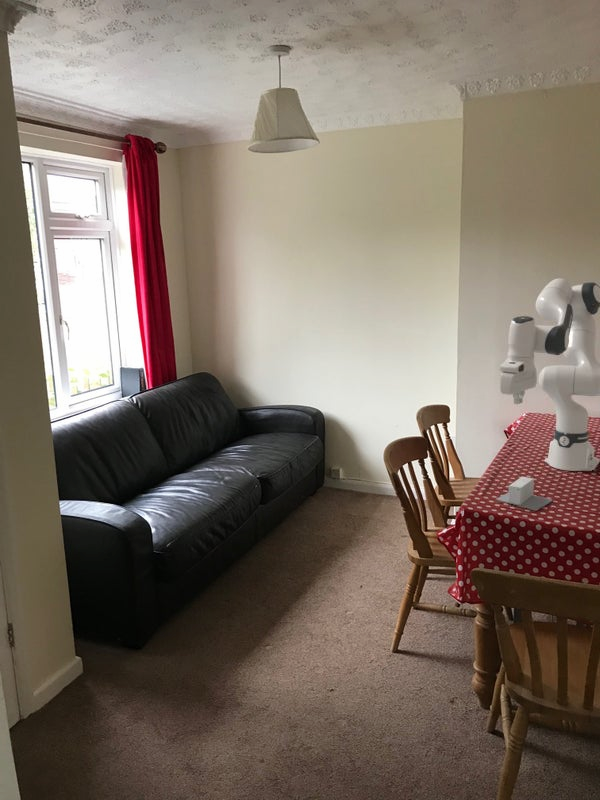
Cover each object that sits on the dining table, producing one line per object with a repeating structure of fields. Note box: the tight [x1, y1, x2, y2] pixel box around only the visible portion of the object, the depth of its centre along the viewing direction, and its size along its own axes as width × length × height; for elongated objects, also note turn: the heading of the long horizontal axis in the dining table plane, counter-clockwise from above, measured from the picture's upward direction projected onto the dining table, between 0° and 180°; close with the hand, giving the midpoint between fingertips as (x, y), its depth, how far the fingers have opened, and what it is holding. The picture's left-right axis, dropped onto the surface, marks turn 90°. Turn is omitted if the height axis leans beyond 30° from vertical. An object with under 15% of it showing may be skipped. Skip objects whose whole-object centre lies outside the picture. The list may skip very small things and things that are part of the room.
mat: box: [495, 491, 553, 512], centre depth 221 cm, size 12×14×1 cm
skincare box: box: [508, 476, 535, 505], centre depth 220 cm, size 6×4×12 cm
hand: (518, 403), depth 232 cm, fingers closed
